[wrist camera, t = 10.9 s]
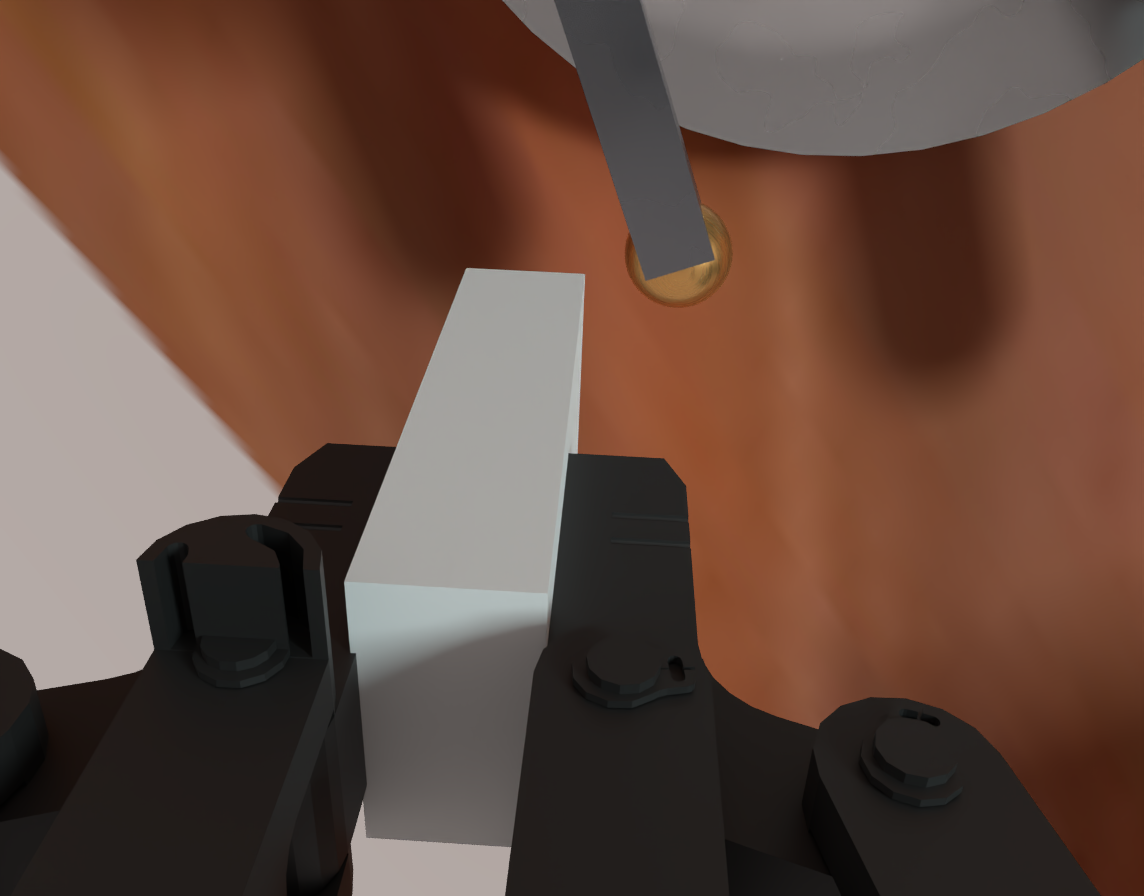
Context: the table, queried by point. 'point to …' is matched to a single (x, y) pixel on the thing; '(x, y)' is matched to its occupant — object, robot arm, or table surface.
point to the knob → (646, 154)
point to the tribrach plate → (873, 66)
